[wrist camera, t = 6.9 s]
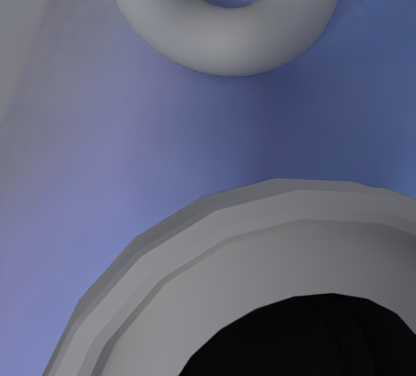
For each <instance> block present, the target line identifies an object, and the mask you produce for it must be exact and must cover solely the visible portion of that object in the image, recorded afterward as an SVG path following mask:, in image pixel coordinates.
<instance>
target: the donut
mask: <svg viewBox="0 0 416 376" xmlns="http://www.w3.org/2000/svg"><path fill="white" fill-rule="evenodd" d="M115 1H116V3H117V5H118V7H119V9H120V10H121V12H122V14H123V16H124V18H125V19H126V21H127V23H128V24H129V25H130V27H131V28H132V29H133V30H134V31H135V32H136V33H137V34H138V35H139V36H140V37H141V38H142V39H143V40H144V41H145V42H146V43H147V44H148V45H149V47H151V48H152V49H154V50H155V51H157V52H158V53H160V54H161V55H163V56H164V57H166V58H167V59H169V60H170V61H172V62H174V63H177V64H179V65H182V66H184V67H186V68H189V69H191V70H194V71H197V72H202V73H207V74H212V75H217V76H243V77H245V76H250V75H255V74H260V73H265V72H270V71H272V70H274V69H277V68H279V67H281V66H283V65H285V64H287V63H289V62H291V61H293V60H296V59H297V58H299V57H300V56H301V55H302V54H303V53H304V52H305V51H306V50H307V49H308V48H310V47H311V46H312V45H313V44H314V43H315V42H316V41H317V40H318V39H319V38H320V36H321V35H322V34H323V32H324V30H325V28H326V26H327V24H328V22H329V20H330V19H331V17H332V15H333V13H334V11H335V9H336V5H337V2H338V0H255V1H254V2H253V3H251V4H249V5H246V6H243V7H240V8H224V7H219V6H215V5H212V4H210V3H208V2H206V1H203V0H115Z"/></svg>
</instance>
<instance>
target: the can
mask: <svg viewBox="0 0 416 376" xmlns="http://www.w3.org/2000/svg"><path fill="white" fill-rule="evenodd" d="M42 376H416V198H413V197H410V196H406V195H404V194H401V193H397V192H394V191H391V190H388V189H385V188H372V187H369V186H366V185H363V184H360V183H357V182H354V181H331V180H309V179H286V178H274V179H270V180H266V181H262V182H258V183H254V184H250V185H246V186H243V187H239V188H235V189H231V190H227V191H223V192H219V193H215V194H211V195H207V196H203V197H201V198H199V199H198V200H196V201H194V202H193V203H191V204H189V205H188V206H186V207H184V208H183V209H181V210H179V211H178V212H176V213H175V214H173V215H171V216H170V217H168V218H166V219H165V220H163V221H161V222H160V223H158V224H157V225H155V226H153V227H152V228H150V229H148V230H147V231H145V232H143V233H142V234H140V235H138V236H137V237H135V238H134V239H133V241H132V242H131V243H130V244H129V245H128V246H127V247H126V248H125V249H124V251H123V252H122V253H121V254H120V255H119V256H118V257H117V258H116V259H115V261H114V262H113V263H112V264H111V265H110V266H109V267H108V268H107V269H106V271H105V272H104V273H103V274H102V275H101V276H100V277H99V278H98V279H97V281H96V282H95V283H94V284H93V285H92V286H91V287H90V288H89V289H88V291H87V292H86V293H85V294H84V295H83V296H82V297H81V298H80V299H79V301H78V303H77V305H76V307H75V309H74V311H73V314H72V316H71V318H70V320H69V322H68V324H67V326H66V328H65V330H64V332H63V334H62V336H61V338H60V340H59V342H58V344H57V346H56V348H55V350H54V352H53V354H52V356H51V358H50V360H49V362H48V365H47V367H46V369H45V371H44V373H43V375H42Z"/></svg>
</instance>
